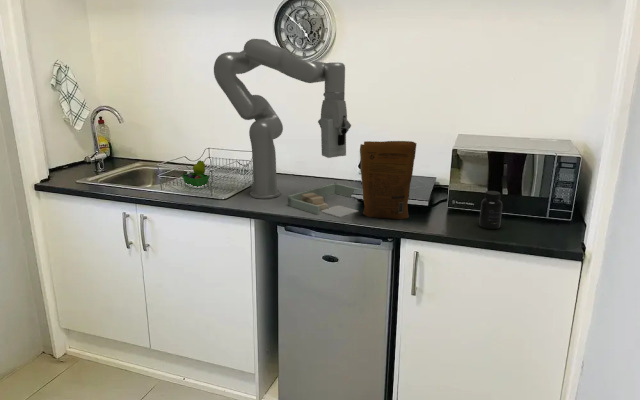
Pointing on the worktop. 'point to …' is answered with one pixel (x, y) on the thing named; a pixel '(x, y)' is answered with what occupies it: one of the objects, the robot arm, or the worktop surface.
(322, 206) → the bottom offcut
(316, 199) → the top offcut
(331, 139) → the skincare box
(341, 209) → the mat
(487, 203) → the supplement bottle
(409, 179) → the pancake mix bag
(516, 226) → the worktop surface
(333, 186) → the tray
